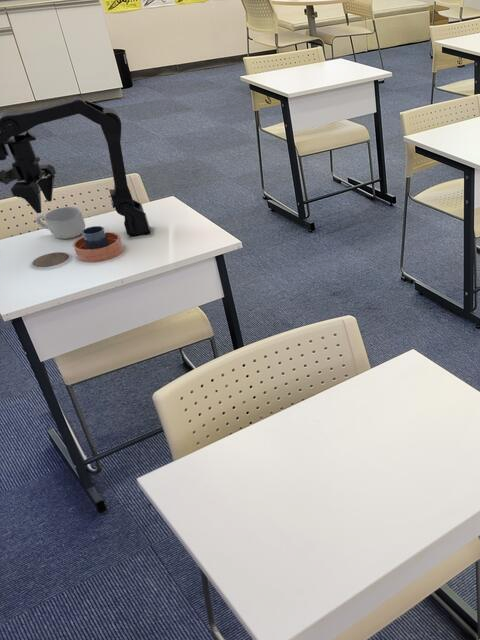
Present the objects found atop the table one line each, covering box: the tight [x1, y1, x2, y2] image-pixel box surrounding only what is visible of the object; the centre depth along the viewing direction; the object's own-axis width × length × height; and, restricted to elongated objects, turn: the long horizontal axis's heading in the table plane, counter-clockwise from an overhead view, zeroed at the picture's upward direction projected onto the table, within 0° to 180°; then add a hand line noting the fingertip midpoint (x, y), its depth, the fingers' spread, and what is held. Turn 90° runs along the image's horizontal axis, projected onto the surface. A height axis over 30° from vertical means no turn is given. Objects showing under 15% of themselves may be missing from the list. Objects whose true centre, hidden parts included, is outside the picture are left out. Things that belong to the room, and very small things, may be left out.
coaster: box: [32, 251, 70, 268], centre depth 213 cm, size 10×10×1 cm
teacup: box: [35, 206, 86, 240], centre depth 226 cm, size 14×11×8 cm
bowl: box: [72, 231, 125, 263], centre depth 216 cm, size 13×13×4 cm
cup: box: [81, 225, 110, 250], centre depth 214 cm, size 6×6×8 cm
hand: (44, 207), depth 212 cm, fingers open, 9 cm apart
